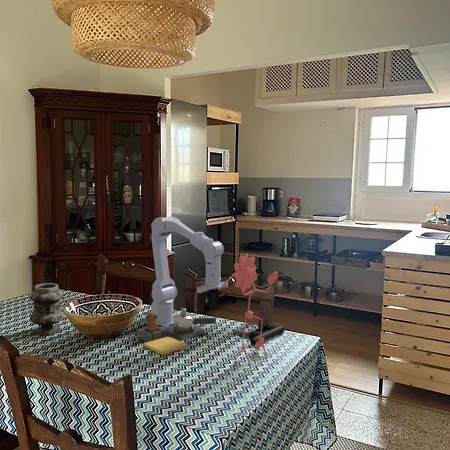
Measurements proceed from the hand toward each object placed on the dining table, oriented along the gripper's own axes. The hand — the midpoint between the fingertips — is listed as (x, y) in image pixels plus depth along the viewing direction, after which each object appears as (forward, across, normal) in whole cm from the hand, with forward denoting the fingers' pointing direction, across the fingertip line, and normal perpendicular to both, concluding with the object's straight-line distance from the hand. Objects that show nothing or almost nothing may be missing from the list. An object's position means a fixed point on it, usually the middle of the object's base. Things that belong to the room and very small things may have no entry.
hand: (212, 308), depth 172 cm
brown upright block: (+10, -19, +13) cm, 25 cm away
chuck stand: (+10, -7, +9) cm, 15 cm away
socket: (+10, -19, +13) cm, 25 cm away
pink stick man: (+11, -6, -22) cm, 25 cm away
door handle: (+11, +12, -12) cm, 20 cm away
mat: (+10, -21, +2) cm, 24 cm away
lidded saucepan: (+9, -4, +6) cm, 11 cm away
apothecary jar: (+11, -45, +46) cm, 65 cm away
